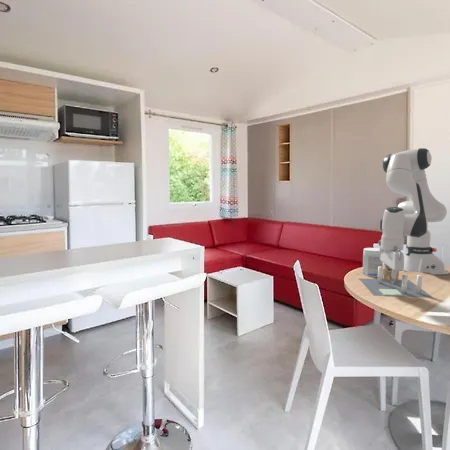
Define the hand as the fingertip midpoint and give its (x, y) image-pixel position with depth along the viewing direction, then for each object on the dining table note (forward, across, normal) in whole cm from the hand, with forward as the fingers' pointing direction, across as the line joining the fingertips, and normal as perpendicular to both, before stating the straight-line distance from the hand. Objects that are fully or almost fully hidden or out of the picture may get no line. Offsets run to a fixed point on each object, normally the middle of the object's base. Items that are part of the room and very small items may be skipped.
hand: (390, 275), depth 148 cm
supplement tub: (+9, +31, -1) cm, 32 cm away
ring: (+1, 0, 0) cm, 1 cm away
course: (+9, +9, -4) cm, 13 cm away
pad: (+8, 0, 0) cm, 8 cm away
